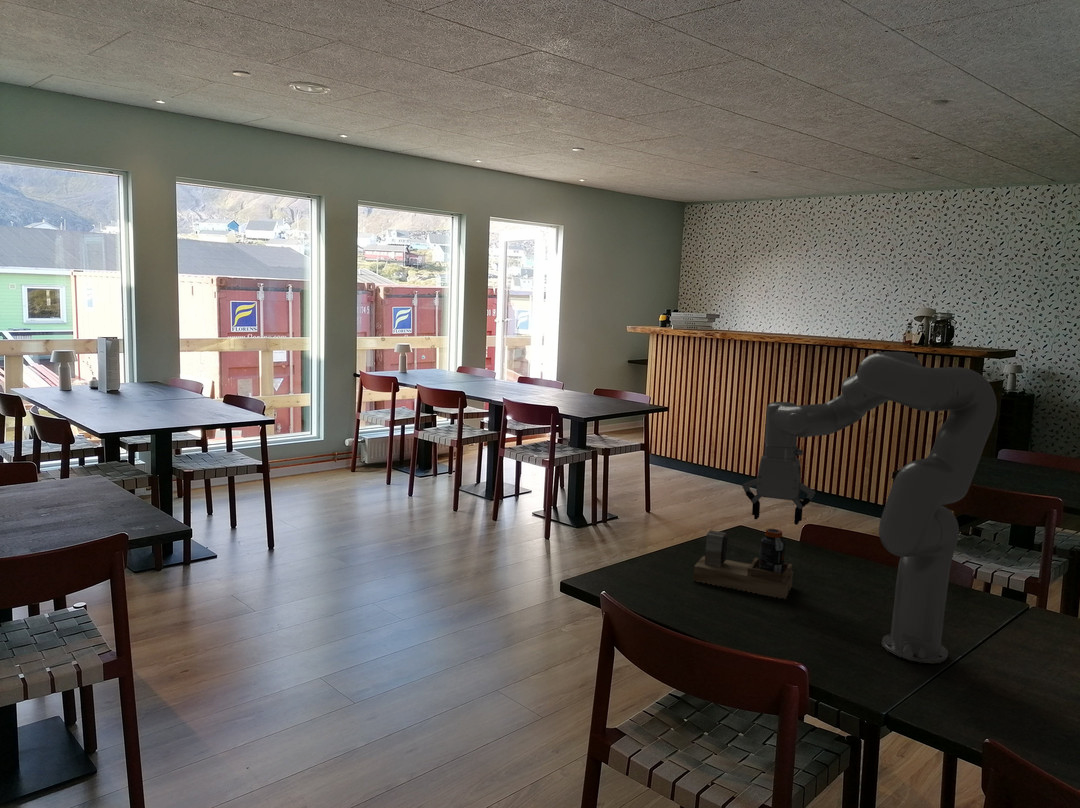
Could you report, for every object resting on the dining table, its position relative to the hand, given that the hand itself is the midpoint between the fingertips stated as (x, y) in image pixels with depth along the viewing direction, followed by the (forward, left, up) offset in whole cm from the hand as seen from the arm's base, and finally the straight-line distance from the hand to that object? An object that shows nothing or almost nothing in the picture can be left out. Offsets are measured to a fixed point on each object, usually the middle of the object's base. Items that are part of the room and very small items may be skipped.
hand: (776, 520), depth 194 cm
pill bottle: (0, 0, -14) cm, 14 cm away
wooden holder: (0, +7, -18) cm, 19 cm away
